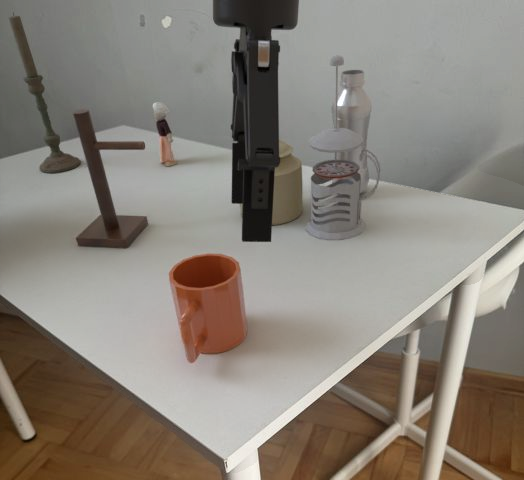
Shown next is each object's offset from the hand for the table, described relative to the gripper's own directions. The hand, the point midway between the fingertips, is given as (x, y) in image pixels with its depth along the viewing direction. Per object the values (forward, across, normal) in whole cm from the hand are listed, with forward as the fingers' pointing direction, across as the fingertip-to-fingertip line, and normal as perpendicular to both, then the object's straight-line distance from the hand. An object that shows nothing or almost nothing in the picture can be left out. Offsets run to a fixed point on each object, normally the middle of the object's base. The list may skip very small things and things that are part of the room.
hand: (249, 220), depth 56 cm
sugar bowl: (+10, +39, -7) cm, 41 cm away
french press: (+9, +28, -18) cm, 35 cm away
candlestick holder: (+10, +76, +35) cm, 85 cm away
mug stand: (+13, +36, +17) cm, 42 cm away
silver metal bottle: (+7, +41, -23) cm, 48 cm away
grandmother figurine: (+8, +69, +10) cm, 70 cm away
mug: (+16, +2, +4) cm, 17 cm away
